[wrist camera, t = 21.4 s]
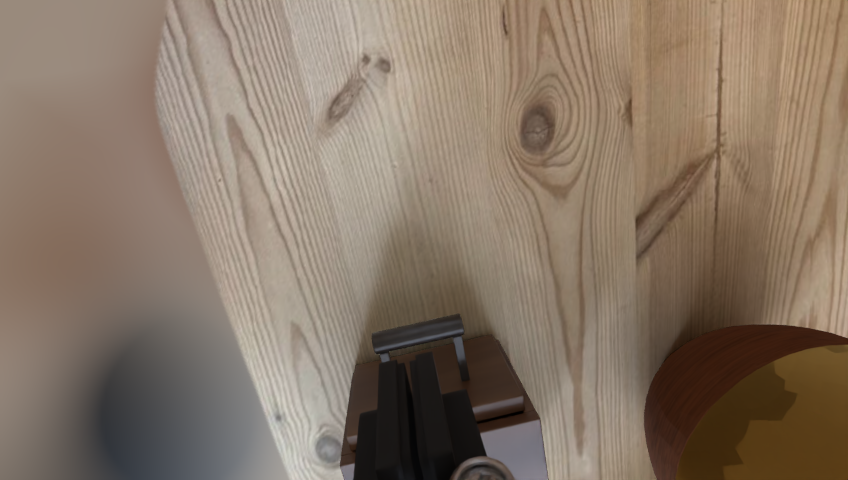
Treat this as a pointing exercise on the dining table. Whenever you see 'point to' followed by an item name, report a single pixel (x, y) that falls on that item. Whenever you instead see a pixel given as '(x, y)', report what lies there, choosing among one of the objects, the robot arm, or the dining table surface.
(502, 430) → the cabinet
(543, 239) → the dining table surface
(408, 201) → the dining table surface
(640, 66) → the dining table surface
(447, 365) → the drawer
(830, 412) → the bowl
